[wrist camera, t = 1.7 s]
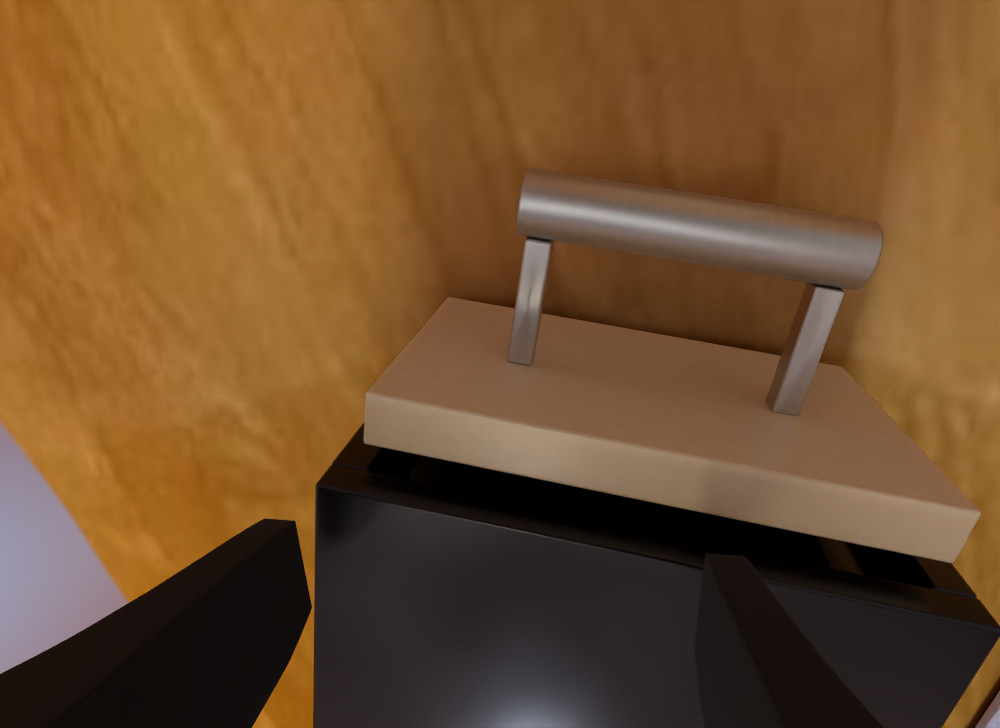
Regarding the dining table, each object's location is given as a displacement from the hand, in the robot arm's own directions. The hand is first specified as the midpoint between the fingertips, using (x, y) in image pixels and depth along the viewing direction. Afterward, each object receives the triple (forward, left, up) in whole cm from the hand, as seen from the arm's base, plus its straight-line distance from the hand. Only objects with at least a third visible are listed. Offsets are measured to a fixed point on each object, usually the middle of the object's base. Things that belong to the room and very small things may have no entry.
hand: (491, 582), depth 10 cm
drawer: (-3, +2, -9) cm, 9 cm away
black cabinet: (-3, +7, -10) cm, 12 cm away
